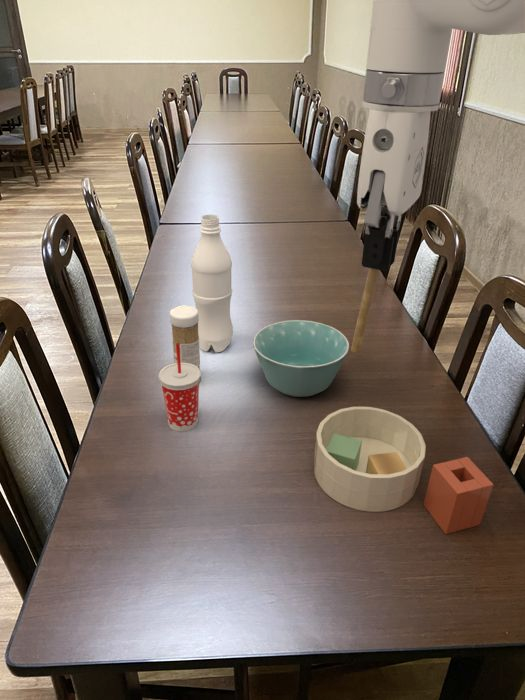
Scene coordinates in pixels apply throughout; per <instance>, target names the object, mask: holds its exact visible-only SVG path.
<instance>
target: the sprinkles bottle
mask: <svg viewBox="0 0 525 700" xmlns="http://www.w3.org/2000/svg"><path fill="white" fill-rule="evenodd" d="M198 321H199V315H198V310H197V309H196V306H192V305H186V304H183V305H178V306H175V307H173V308H172V309H171V310H170V311H169V322H170V324H171V332H172V333H171V335H172V352H173V353H172V354H173V364H174V363H177V352H176V344H177V343H179V347H180V361H181V363H189V364H193V365H195V366H197V367H198V368H199V369H200V370H201V366H200V365H201V357H200V356H201V353H200V352H201V351H200V350H201V349H200V347H199V336H198ZM200 378H201V379H202V376H201V377H200ZM200 382H201V380H200V381H199V383H200Z"/></svg>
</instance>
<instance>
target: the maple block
mask: <svg viewBox="0 0 525 700" xmlns="http://www.w3.org/2000/svg"><path fill="white" fill-rule="evenodd" d="M405 469H407V468H406V466H405V465H404V463H403V461H402V460H401V458H400V456H399V455H398V453H397V452H392V453H383V454H375V455H369V456H368V462H367V468H366V473H368V474H387V475H388V474H392V473H397V472H401V471H404V470H405Z"/></svg>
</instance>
